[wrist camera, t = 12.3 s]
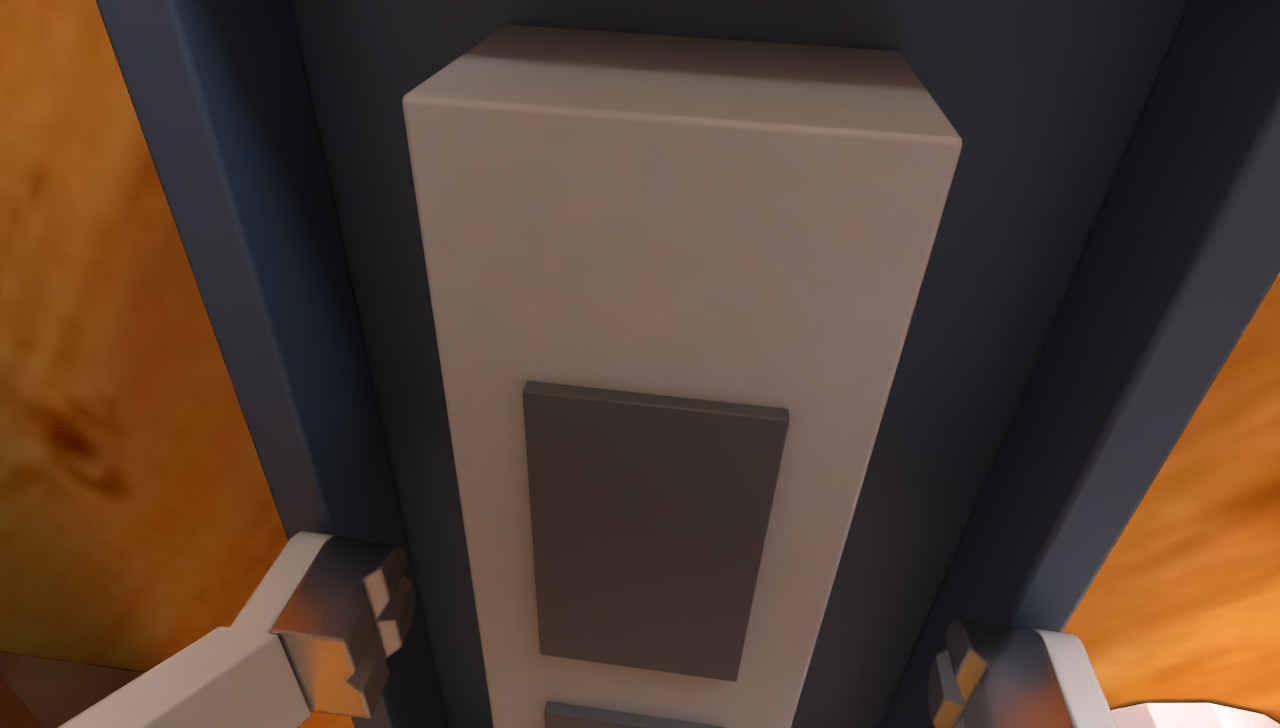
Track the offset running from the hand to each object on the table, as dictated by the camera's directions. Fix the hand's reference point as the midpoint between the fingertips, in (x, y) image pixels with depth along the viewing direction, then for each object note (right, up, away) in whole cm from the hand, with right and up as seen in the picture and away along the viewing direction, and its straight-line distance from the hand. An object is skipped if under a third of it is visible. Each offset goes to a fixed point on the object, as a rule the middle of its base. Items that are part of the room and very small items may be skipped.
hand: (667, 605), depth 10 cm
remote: (0, +1, +2) cm, 2 cm away
